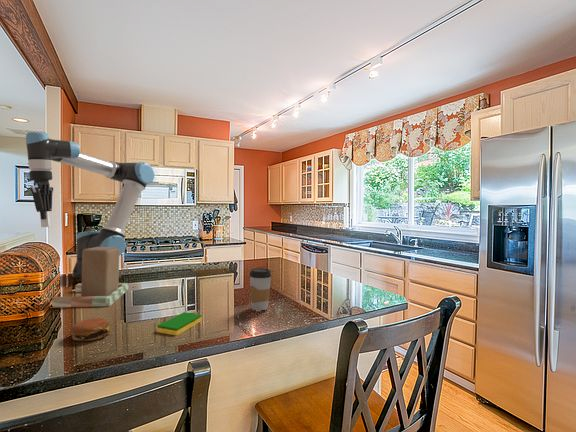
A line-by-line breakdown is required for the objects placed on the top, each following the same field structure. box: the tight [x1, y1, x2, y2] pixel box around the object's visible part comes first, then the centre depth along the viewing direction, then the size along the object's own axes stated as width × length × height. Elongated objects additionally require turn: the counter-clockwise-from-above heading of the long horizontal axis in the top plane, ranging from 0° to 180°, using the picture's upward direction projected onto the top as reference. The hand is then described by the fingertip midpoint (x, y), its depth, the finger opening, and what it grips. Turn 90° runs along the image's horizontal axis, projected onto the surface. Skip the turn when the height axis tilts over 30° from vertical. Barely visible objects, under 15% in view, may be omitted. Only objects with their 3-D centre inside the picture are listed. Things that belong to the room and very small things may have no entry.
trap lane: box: [52, 282, 129, 308], centre depth 130 cm, size 24×20×3 cm
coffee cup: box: [249, 267, 272, 312], centre depth 123 cm, size 8×8×15 cm
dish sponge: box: [156, 311, 203, 336], centre depth 104 cm, size 7×14×2 cm, turn 163°
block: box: [80, 247, 120, 296], centre depth 131 cm, size 10×10×20 cm
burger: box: [71, 317, 110, 342], centre depth 93 cm, size 10×9×5 cm
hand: (45, 226), depth 136 cm, fingers closed
